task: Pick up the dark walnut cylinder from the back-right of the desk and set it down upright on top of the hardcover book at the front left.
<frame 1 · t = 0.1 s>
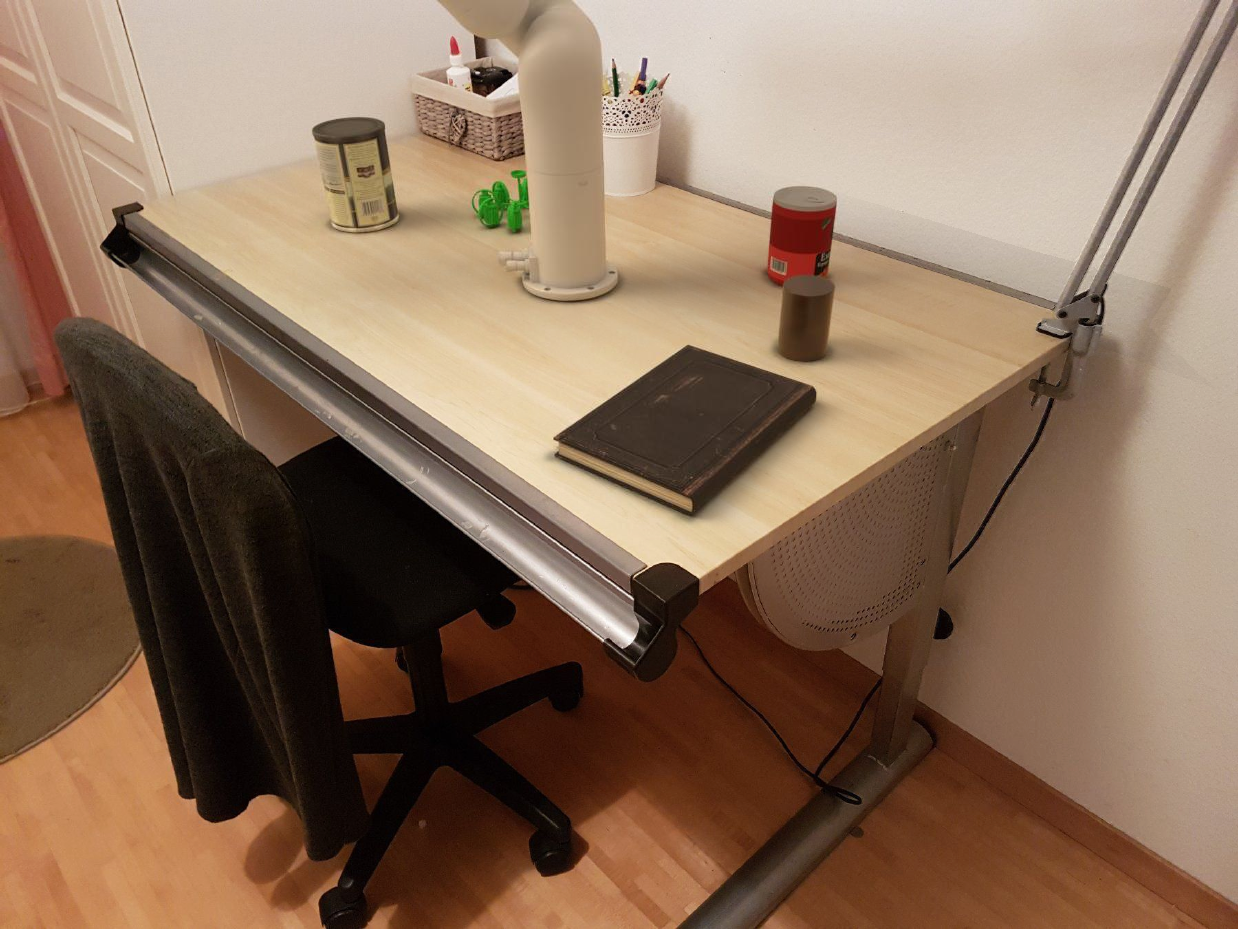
hardcover book: (689, 432, 92), on the table
canned food: (796, 278, 122), on the table
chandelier: (521, 218, 141), on the table
walnut cylinder: (801, 349, 105), on the table
coffee can: (365, 221, 141), on the table
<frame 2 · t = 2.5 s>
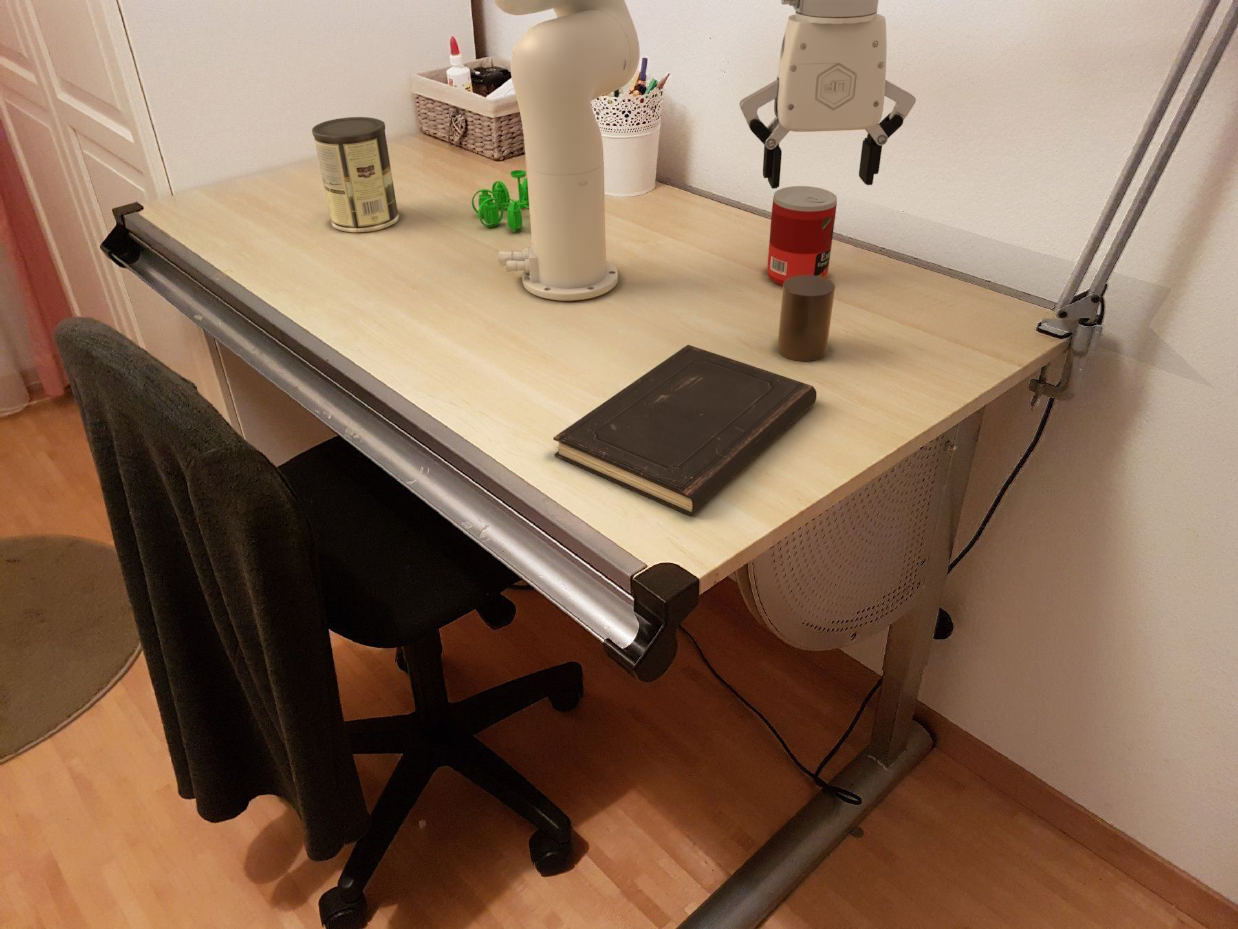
hand: (819, 182, 96), 19 cm above the table, tool pointing down, fingers open, 9 cm apart
nothing on the table moved.
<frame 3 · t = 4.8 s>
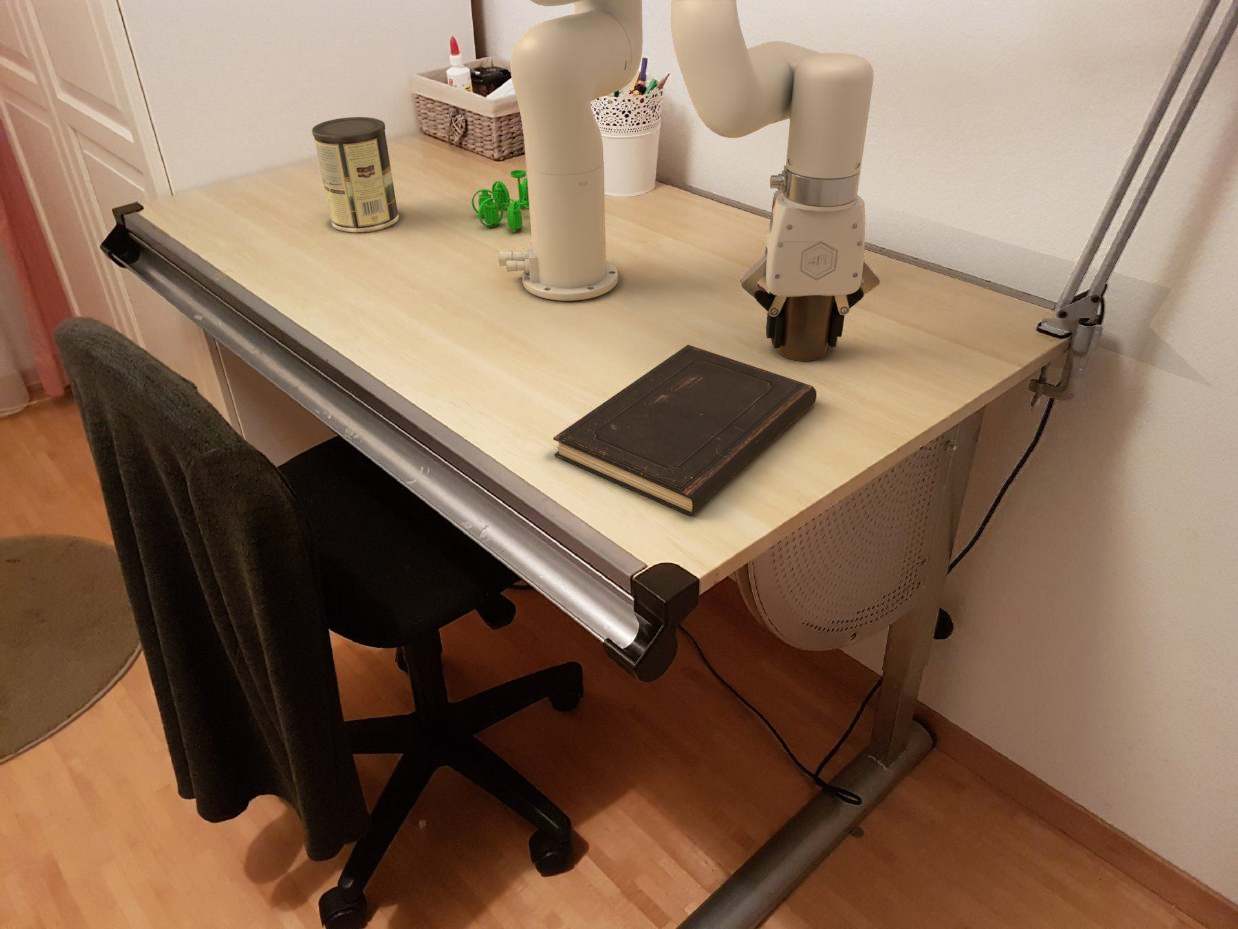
hand: (802, 340, 105), 1 cm above the table, tool pointing down, fingers closed on walnut cylinder, 5 cm apart
walnut cylinder: (801, 349, 105), on the table, touching gripper
everything else where it was.
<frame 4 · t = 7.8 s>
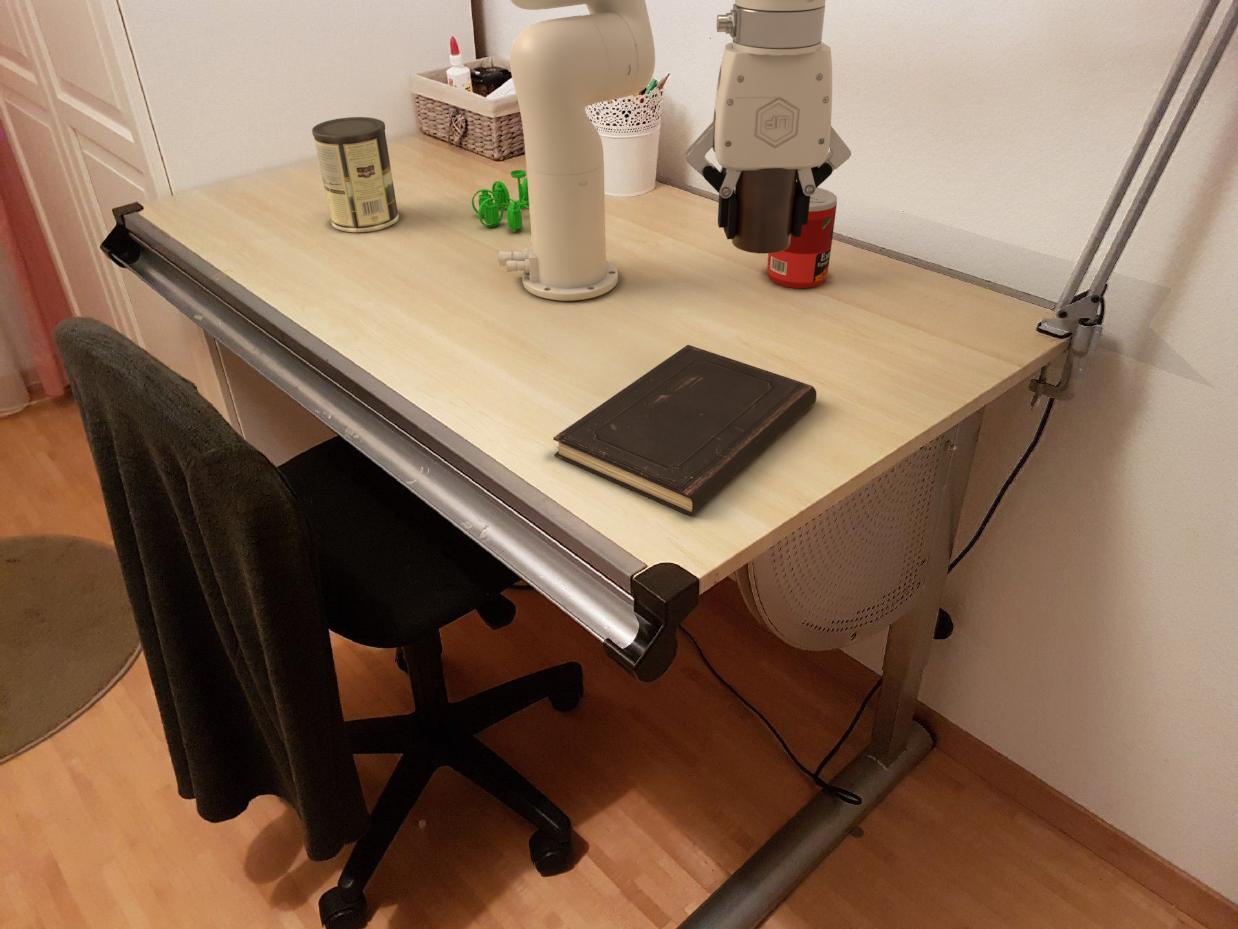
hand: (761, 231, 88), 18 cm above the table, tool pointing down, fingers closed on walnut cylinder, 5 cm apart
walnut cylinder: (760, 242, 89), point 16 cm above the table, touching gripper
everything else where it was.
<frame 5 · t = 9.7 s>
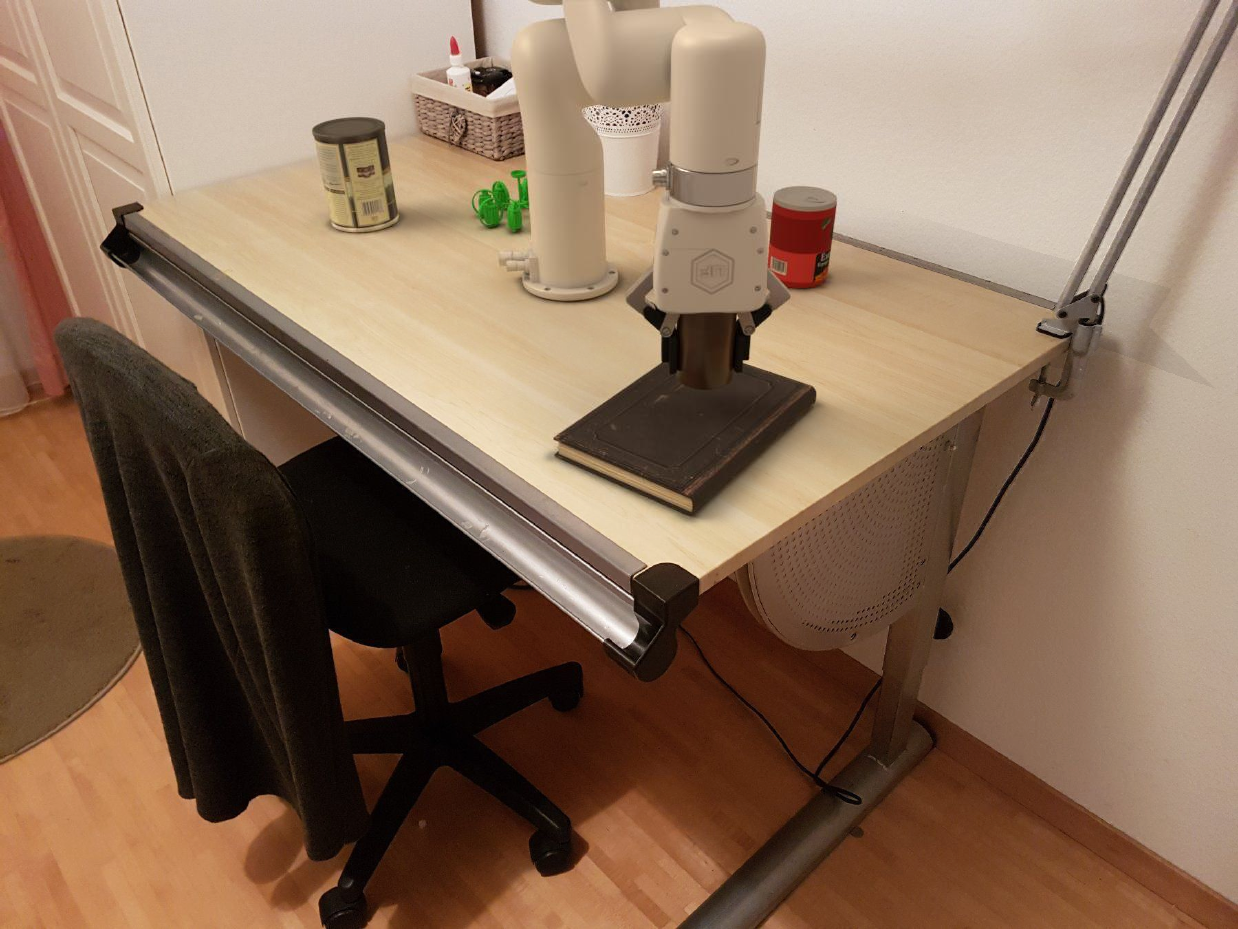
hand: (704, 365, 89), 7 cm above the table, tool pointing down, fingers closed on walnut cylinder, 5 cm apart
walnut cylinder: (703, 375, 90), point 6 cm above the table, touching gripper
everything else where it was.
when the fingers open (3 cm above the table, at t = 11.1 s): walnut cylinder stays where it is, resting on hardcover book.
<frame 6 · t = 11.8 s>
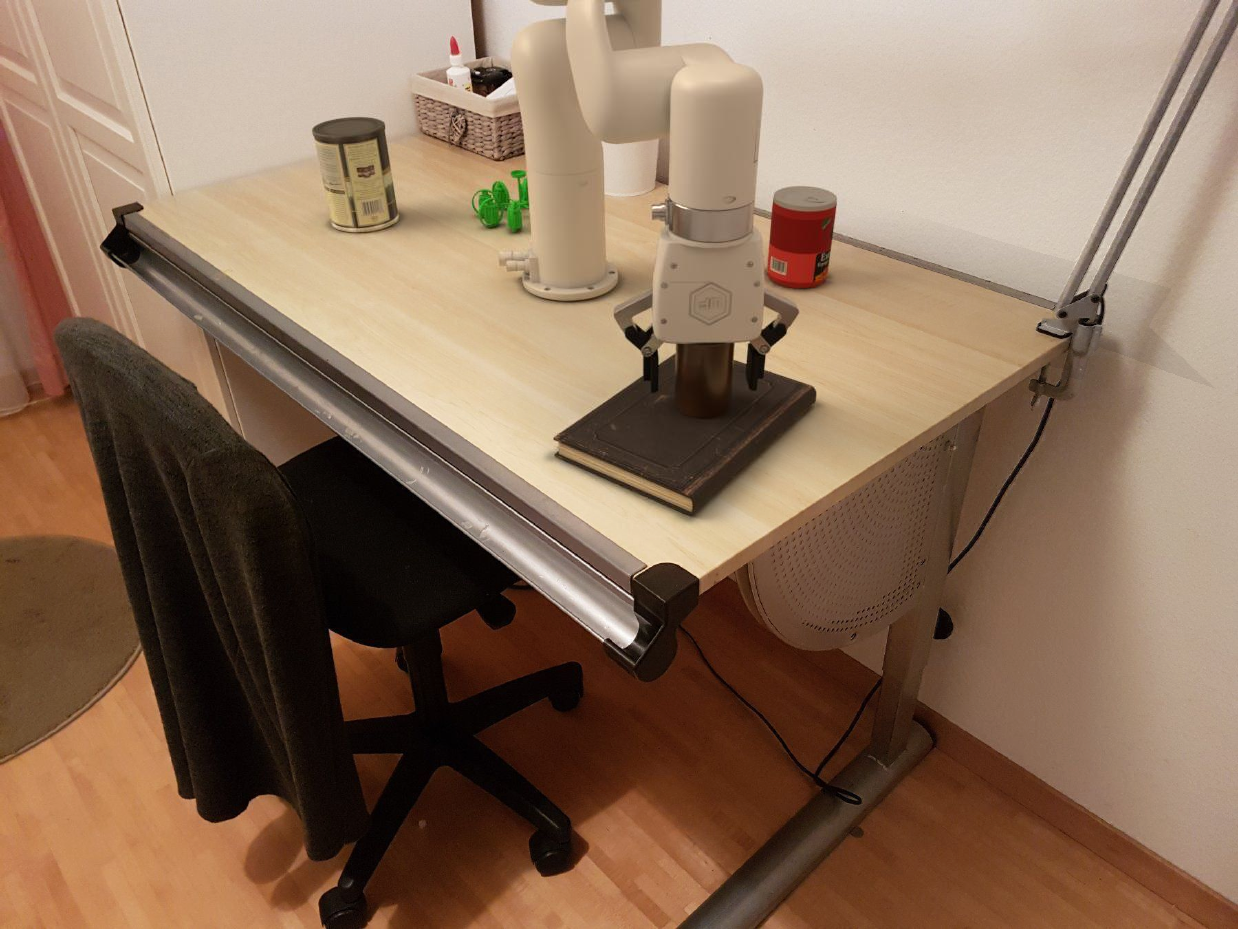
hand: (702, 384, 91), 4 cm above the table, tool pointing down, fingers open, 9 cm apart
hardcover book: (689, 432, 92), on the table, touching walnut cylinder
walnut cylinder: (702, 404, 92), point 2 cm above the table, touching hardcover book
everything else where it was.
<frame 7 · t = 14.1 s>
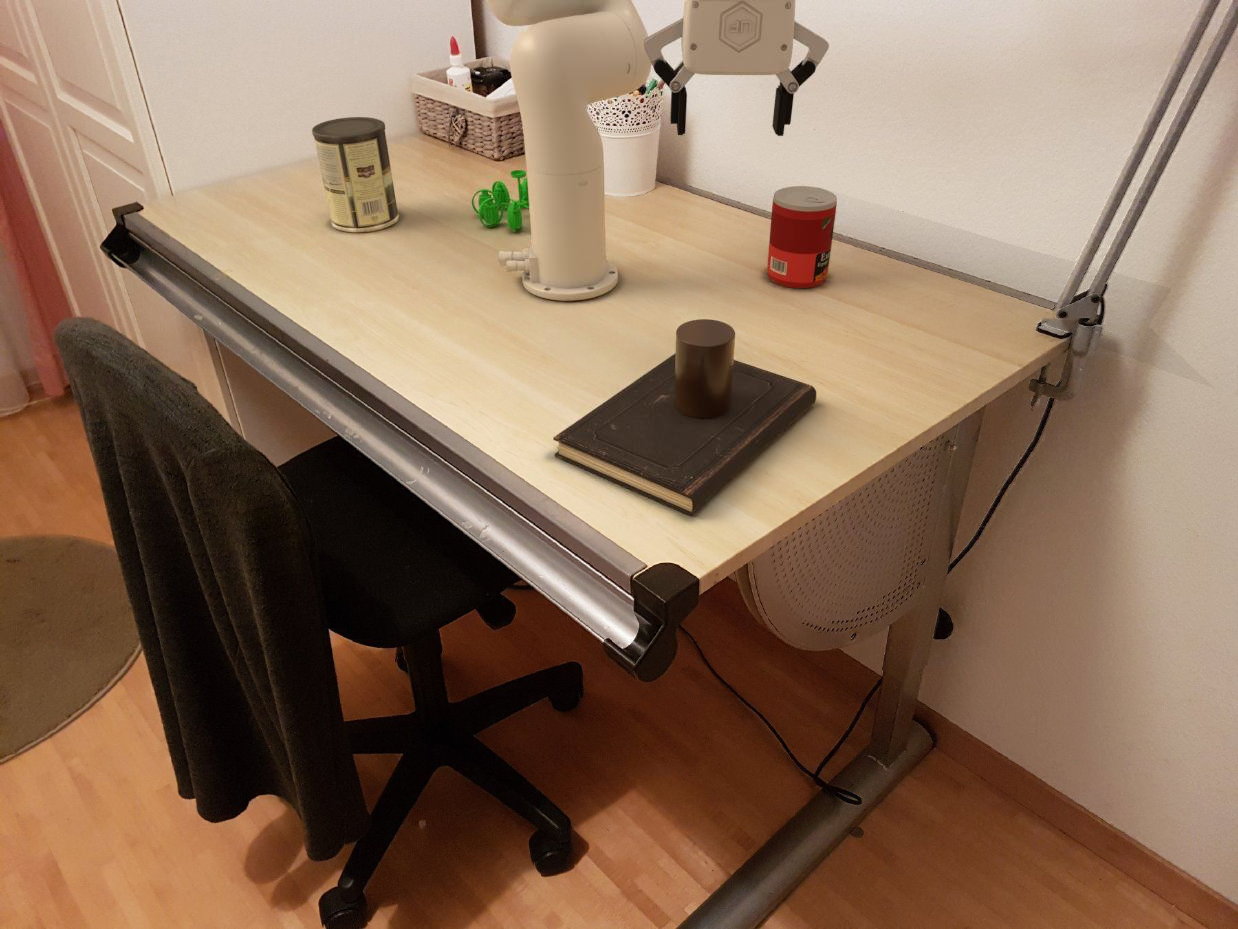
hand: (729, 131, 91), 25 cm above the table, tool pointing down, fingers open, 9 cm apart
nothing on the table moved.
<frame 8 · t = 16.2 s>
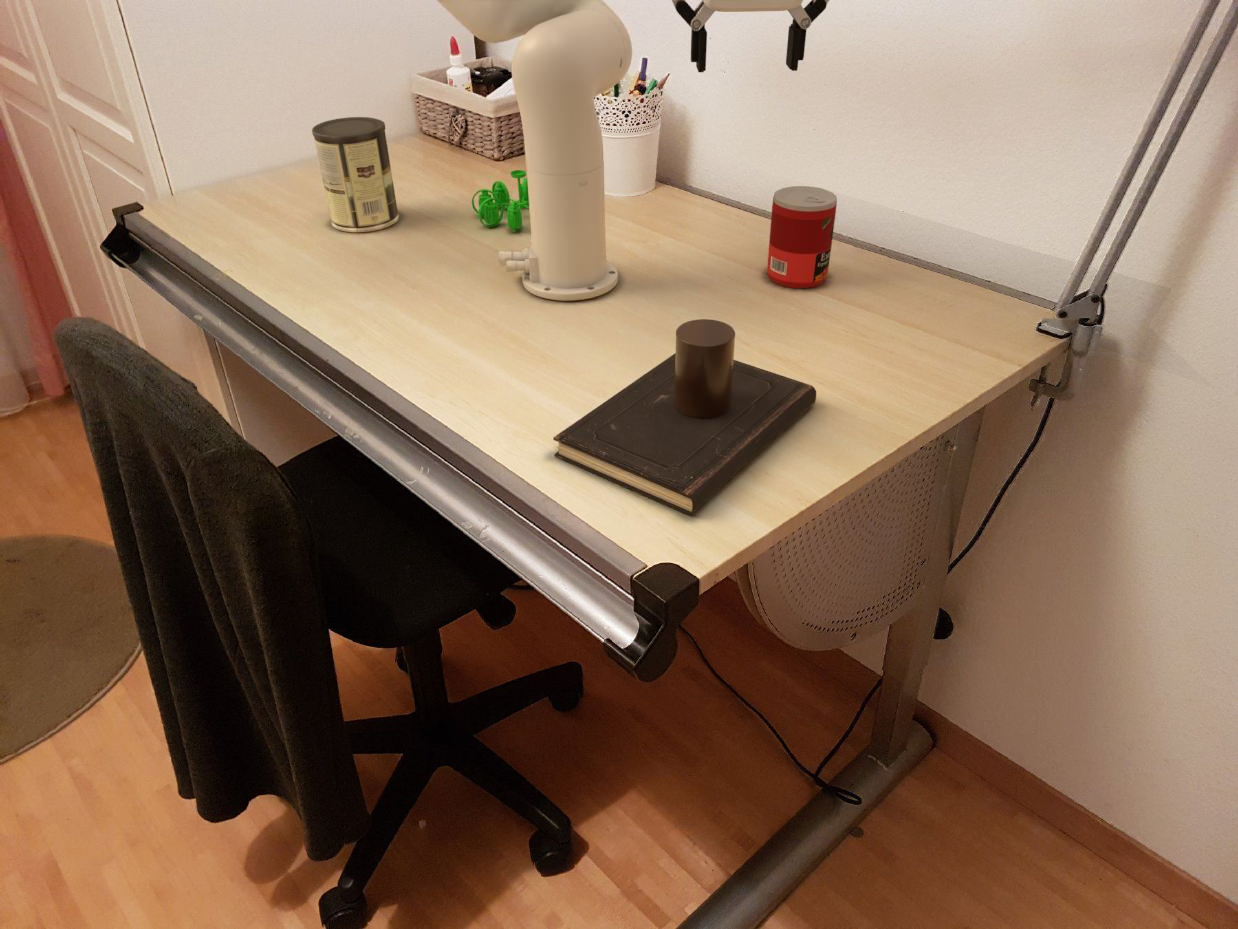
hand: (746, 68, 97), 28 cm above the table, tool pointing down, fingers open, 9 cm apart
nothing on the table moved.
at the end: walnut cylinder inside the target area on the hardcover book (1.8 cm from its centre), point 2.5 cm above the hardcover book's base; walnut cylinder touching hardcover book; walnut cylinder tilted 0° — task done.
